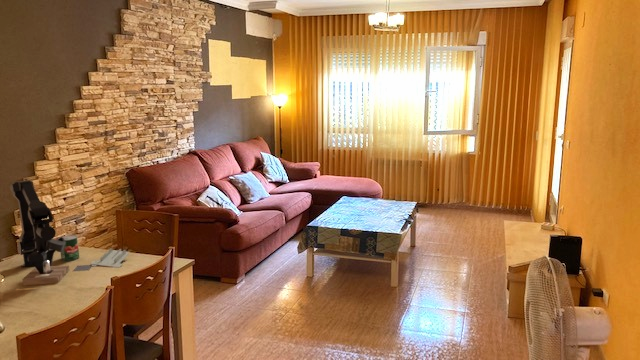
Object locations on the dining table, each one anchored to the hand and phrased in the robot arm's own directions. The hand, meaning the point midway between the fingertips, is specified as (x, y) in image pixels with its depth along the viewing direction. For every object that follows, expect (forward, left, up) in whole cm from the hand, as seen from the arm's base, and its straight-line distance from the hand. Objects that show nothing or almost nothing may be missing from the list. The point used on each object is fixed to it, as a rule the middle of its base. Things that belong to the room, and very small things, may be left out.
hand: (46, 269), depth 219 cm
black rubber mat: (-9, +12, -4) cm, 16 cm away
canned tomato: (-24, +2, -4) cm, 24 cm away
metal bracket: (-15, +24, -4) cm, 28 cm away
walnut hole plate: (0, 0, -4) cm, 4 cm away
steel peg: (0, 0, -4) cm, 4 cm away
